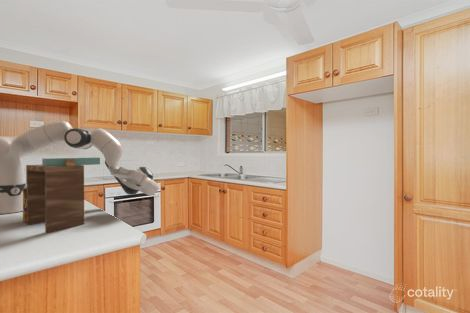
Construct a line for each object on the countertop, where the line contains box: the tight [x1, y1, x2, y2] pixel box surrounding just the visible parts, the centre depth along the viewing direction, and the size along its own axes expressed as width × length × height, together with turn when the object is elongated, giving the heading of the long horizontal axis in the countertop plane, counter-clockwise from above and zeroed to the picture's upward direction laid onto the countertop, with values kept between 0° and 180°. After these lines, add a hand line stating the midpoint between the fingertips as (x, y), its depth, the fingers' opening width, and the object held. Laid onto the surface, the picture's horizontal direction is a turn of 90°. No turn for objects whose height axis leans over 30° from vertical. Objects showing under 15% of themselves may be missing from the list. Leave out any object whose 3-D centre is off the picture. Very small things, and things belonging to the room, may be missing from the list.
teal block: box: [41, 157, 101, 167], centre depth 110 cm, size 3×22×3 cm, turn 148°
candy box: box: [22, 188, 27, 223], centre depth 115 cm, size 9×4×15 cm, turn 123°
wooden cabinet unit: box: [25, 159, 85, 233], centre depth 109 cm, size 20×14×29 cm
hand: (114, 167), depth 126 cm, fingers open, 8 cm apart
